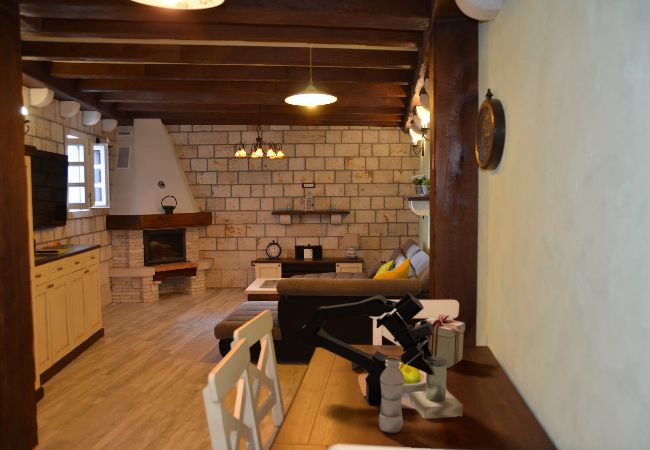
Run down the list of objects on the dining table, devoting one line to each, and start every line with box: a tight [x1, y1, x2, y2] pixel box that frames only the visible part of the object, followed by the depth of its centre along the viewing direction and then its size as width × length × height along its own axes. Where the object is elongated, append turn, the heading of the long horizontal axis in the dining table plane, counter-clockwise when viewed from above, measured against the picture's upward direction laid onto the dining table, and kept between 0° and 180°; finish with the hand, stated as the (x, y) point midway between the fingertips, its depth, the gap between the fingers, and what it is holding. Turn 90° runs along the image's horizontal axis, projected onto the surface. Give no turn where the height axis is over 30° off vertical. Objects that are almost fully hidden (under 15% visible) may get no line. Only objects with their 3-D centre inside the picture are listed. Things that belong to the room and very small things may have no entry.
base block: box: [409, 389, 464, 420], centre depth 163 cm, size 12×12×4 cm
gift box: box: [414, 314, 467, 369], centre depth 212 cm, size 17×18×17 cm
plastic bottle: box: [377, 356, 405, 434], centre depth 147 cm, size 6×7×20 cm
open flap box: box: [351, 348, 366, 371], centre depth 202 cm, size 12×18×7 cm, turn 147°
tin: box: [425, 356, 448, 402], centre depth 163 cm, size 6×6×12 cm
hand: (434, 369), depth 163 cm, fingers open, 9 cm apart
